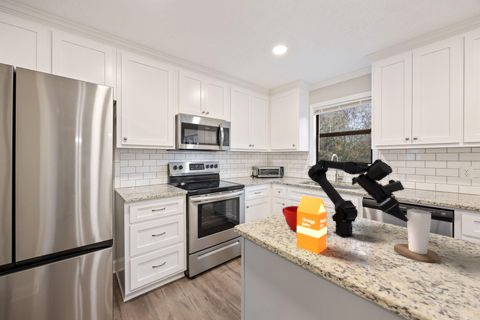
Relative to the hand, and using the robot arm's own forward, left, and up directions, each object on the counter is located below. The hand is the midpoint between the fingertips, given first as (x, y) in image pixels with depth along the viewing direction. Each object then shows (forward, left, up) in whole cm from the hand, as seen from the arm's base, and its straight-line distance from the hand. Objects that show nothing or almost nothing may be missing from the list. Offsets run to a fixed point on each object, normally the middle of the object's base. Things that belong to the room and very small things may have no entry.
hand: (405, 217), depth 78 cm
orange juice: (-33, +11, -13) cm, 37 cm away
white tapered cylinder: (+2, -3, -12) cm, 13 cm away
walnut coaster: (+2, -2, -13) cm, 13 cm away
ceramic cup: (-29, +33, -13) cm, 46 cm away
